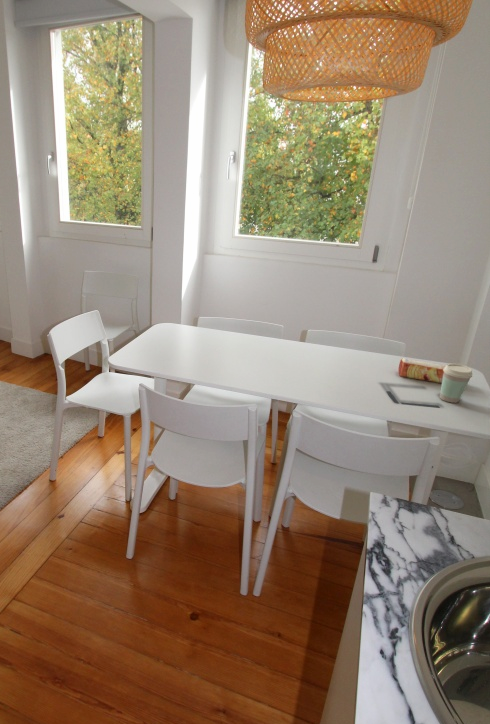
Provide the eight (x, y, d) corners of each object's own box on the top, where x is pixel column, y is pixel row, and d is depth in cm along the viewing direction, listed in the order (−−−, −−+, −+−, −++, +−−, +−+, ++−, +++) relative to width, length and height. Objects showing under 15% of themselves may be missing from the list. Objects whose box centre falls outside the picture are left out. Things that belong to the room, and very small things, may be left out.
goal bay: (439, 407, 158) (439, 407, 157) (394, 404, 160) (394, 403, 160) (421, 388, 173) (422, 387, 173) (381, 385, 175) (381, 384, 175)
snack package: (458, 381, 179) (463, 365, 176) (460, 388, 173) (466, 372, 170) (396, 371, 186) (401, 355, 183) (397, 377, 181) (402, 361, 178)
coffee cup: (463, 397, 165) (473, 366, 160) (463, 407, 159) (474, 375, 154) (435, 391, 169) (445, 360, 164) (434, 400, 163) (444, 369, 158)
